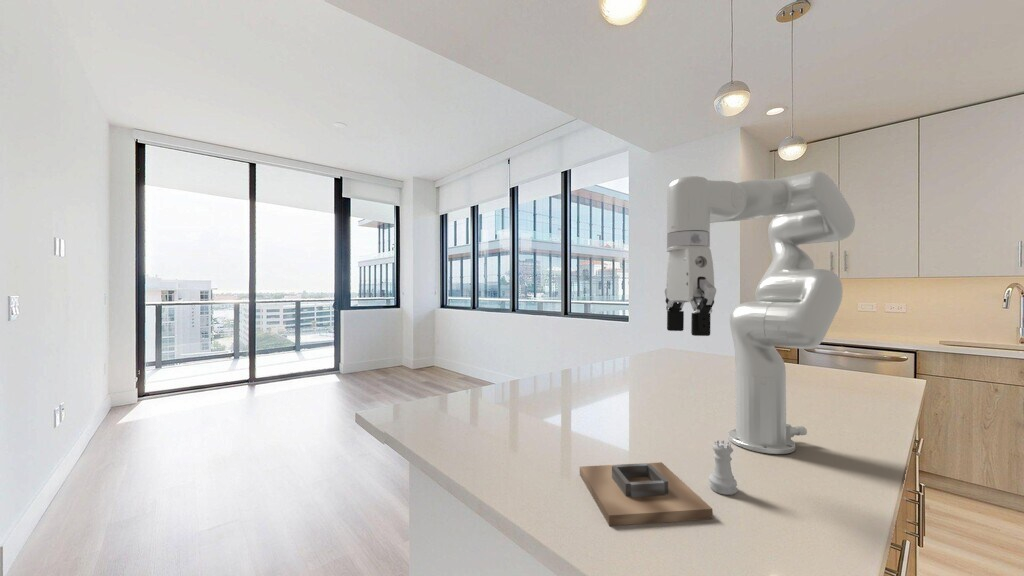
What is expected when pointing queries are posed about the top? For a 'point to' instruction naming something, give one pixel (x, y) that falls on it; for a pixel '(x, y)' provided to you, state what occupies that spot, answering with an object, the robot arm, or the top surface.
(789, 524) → the top surface
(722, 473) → the rook chess piece
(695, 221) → the robot arm
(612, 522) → the jig board
